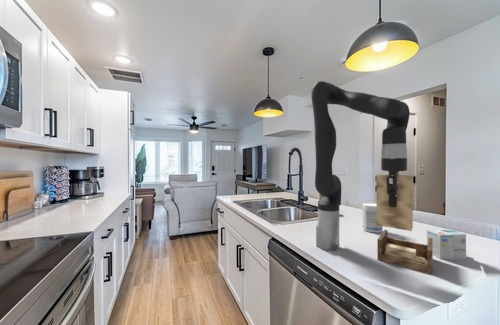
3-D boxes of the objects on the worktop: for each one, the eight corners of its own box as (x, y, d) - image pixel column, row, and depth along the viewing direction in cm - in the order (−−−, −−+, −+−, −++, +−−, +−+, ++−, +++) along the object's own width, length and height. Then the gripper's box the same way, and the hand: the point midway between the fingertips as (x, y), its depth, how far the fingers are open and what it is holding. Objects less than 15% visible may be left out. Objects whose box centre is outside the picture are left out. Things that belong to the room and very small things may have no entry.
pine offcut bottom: (384, 259, 81) (384, 252, 81) (385, 256, 84) (385, 249, 84) (424, 270, 74) (424, 261, 74) (424, 266, 76) (424, 258, 76)
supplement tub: (386, 232, 116) (386, 205, 116) (372, 234, 113) (371, 206, 113) (372, 227, 125) (372, 202, 125) (358, 228, 123) (358, 203, 123)
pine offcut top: (385, 252, 81) (385, 246, 81) (387, 249, 84) (387, 243, 84) (415, 259, 75) (415, 252, 75) (416, 256, 78) (416, 249, 78)
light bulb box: (450, 254, 89) (450, 228, 89) (467, 261, 82) (467, 234, 82) (425, 254, 88) (425, 228, 88) (440, 262, 82) (440, 234, 82)
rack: (377, 262, 82) (377, 239, 82) (384, 250, 93) (384, 229, 93) (432, 277, 71) (432, 250, 71) (432, 261, 82) (432, 238, 82)
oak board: (376, 225, 76) (376, 175, 76) (379, 222, 79) (378, 174, 79) (411, 231, 69) (411, 176, 69) (412, 227, 72) (412, 175, 72)
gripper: (384, 157, 82) (384, 201, 82) (377, 157, 71) (377, 207, 71) (409, 157, 77) (409, 204, 77) (404, 156, 66) (404, 211, 66)
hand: (393, 205), depth 74 cm, fingers closed on oak board, 4 cm apart
